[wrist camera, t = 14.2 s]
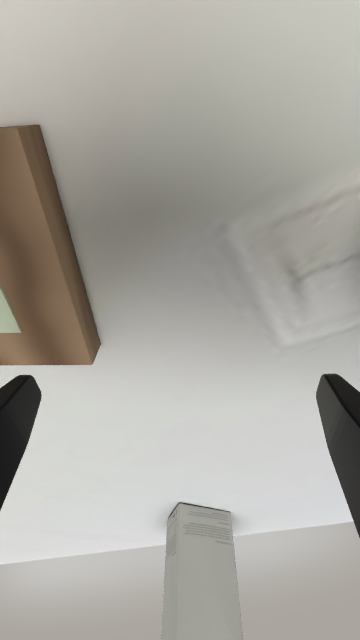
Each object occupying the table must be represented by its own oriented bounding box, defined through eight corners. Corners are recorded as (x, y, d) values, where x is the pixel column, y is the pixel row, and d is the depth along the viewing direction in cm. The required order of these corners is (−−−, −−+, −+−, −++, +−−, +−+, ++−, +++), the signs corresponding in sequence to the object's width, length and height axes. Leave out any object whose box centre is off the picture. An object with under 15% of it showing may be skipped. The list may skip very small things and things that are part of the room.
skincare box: (166, 517, 46) (154, 673, 34) (179, 499, 43) (170, 667, 30) (217, 527, 47) (223, 681, 35) (234, 511, 44) (248, 676, 31)
